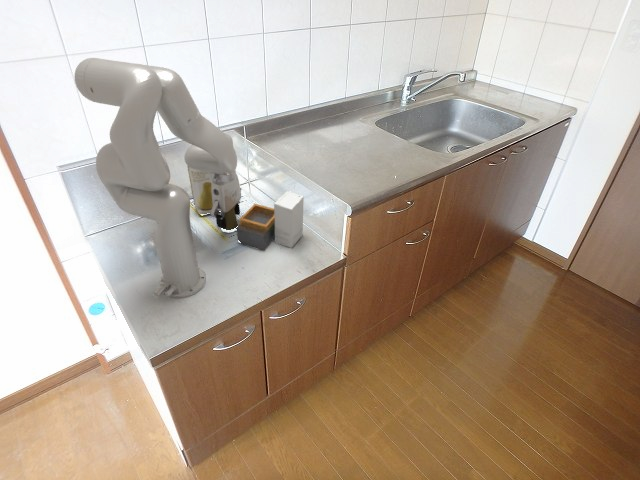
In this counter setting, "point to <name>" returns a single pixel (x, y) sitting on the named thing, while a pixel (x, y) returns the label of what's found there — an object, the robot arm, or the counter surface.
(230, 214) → the olive rounded tall piece
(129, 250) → the counter surface
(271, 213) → the grey open box
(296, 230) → the skincare box
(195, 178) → the juice carton
